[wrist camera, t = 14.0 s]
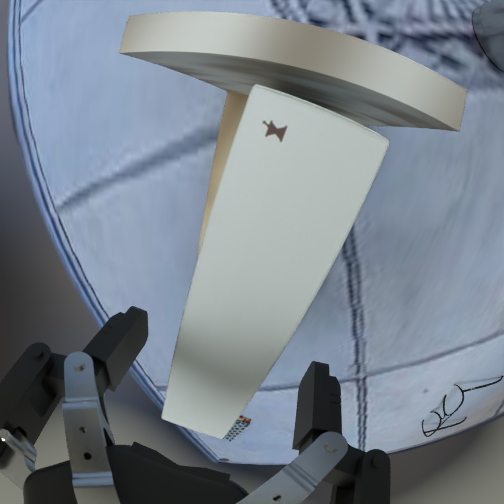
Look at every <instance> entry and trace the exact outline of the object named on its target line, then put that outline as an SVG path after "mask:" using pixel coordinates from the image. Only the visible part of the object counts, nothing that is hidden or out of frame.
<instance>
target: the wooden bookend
mask: <svg viewBox="0 0 504 504" xmlns="http://www.w3.org/2000/svg"><path fill="white" fill-rule="evenodd" d="M119 53H120V54H124V55H128V56H131V57H135V58H138V59H142V60H145V61H148V62H151V63H155V64H158V65H161V66H164V67H167V68H170V69H172V70H175V71H178V72H181V73H184V74H186V75H189V76H192V77H194V78H197V79H199V80H202V81H204V82H207V83H209V84H212V85H214V86H216V87H219V88H221V89H223V90H226V91H228V93H227V97H226V102H225V106H224V111H223V115H222V120H221V125H220V129H219V134H218V139H217V144H216V149H215V154H214V159H213V165H212V170H211V176H210V181H209V187H208V192H207V198H206V204H205V210H204V216H203V223H202V229H201V236H200V242H199V249H198V256H199V252H200V248H201V245H202V241H203V237H204V233H205V230H206V227H207V223H208V220H209V216H210V213H211V210H212V206H213V203H214V200H215V197H216V193H217V190H218V187H219V184H220V181H221V177H222V174H223V171H224V168H225V164H226V161H227V158H228V155H229V152H230V149H231V146H232V143H233V140H234V137H235V134H236V131H237V128H238V126H239V123H240V120H241V117H242V114H243V111H244V108H245V106H246V103H247V100H248V97H249V94H250V91H251V89H252V88H253V86H254V85H256V84H258V85H261V86H265V87H268V88H271V89H275V90H278V91H281V92H284V93H287V94H289V95H292V96H295V97H298V98H300V99H303V100H306V101H308V102H311V103H314V104H316V105H319V106H321V107H323V108H326V109H328V110H331V111H333V112H335V113H338V114H340V115H342V116H344V117H347V118H349V119H351V120H353V121H355V122H357V123H360V124H362V125H364V126H397V127H416V128H430V129H441V130H450V131H458V132H459V131H460V126H461V122H462V117H463V113H464V108H465V102H466V97H467V90H465V89H464V88H462V87H460V86H459V85H457V84H456V83H454V82H452V81H451V80H449V79H447V78H445V77H444V76H442V75H440V74H438V73H436V72H435V71H433V70H431V69H429V68H427V67H425V66H423V65H421V64H419V63H417V62H415V61H413V60H411V59H409V58H406V57H404V56H402V55H400V54H398V53H395V52H393V51H390V50H388V49H386V48H383V47H381V46H378V45H375V44H373V43H370V42H367V41H364V40H362V39H359V38H356V37H353V36H349V35H346V34H343V33H340V32H336V31H333V30H329V29H325V28H322V27H318V26H313V25H309V24H305V23H300V22H295V21H290V20H285V19H279V18H273V17H266V16H258V15H250V14H240V13H226V12H166V13H152V14H142V15H134V16H129V18H128V21H127V24H126V28H125V31H124V35H123V38H122V42H121V46H120V50H119ZM198 256H197V260H198Z"/></svg>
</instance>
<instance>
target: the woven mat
mask: <svg viewBox="0 0 504 504" xmlns="http://www.w3.org/2000/svg"><path fill="white" fill-rule="evenodd" d="M246 420H247V421H246ZM241 421H242V422H241ZM250 421H251V420H250V419H248V418H245V417H242V416H239V418H238V419H237V420H236V422H235V423H234V424H233V426H232V427H231V429H230V430H229V431H228V433H227V434H226V435H225V437H226V439H229V438H230V440H229V441H231V440H233V439H235V438H236V436H237V437H238V435H241V434H240V433H243V431H245V430H247V429H246V428H248V427H249V426H248V425H250V423H249V422H250ZM223 439H224V438H223Z"/></svg>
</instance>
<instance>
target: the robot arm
mask: <svg viewBox="0 0 504 504" xmlns="http://www.w3.org/2000/svg"><path fill="white" fill-rule="evenodd" d="M472 19H473V27H474V30H475V33H476V36H477V38H478V41H479V42H480V44H481V46H482V48H483V50H484V51H485V53H486V54H487V56H488V57H489V58H490V59H491V61H492V62H493V63H494V64H495V65H496V66H497V67H498V68H499V69H501V70H502V71H503V72H504V0H491V1H489V2H487V3H485V4H483V5H481V6H479V7H478V8H476V9H475V11H474V13H473V18H472ZM147 338H148V314H147V311H145V310H142V309H140V308H137V307H134V306H131V307H130V308H129V309H128V311H127V312H126V313H125V314H124V313H121V312H120V313H118V314H116V315H114V316H112V317H111V318H110V319H109V320H108V321H107V323H106V324H105V325H104V326H103V327H102V328H101V331H99V332H98V333H97V334H96V336H95V337H94V338H93V339H92V340H91V341H90V343H89V344H88V345H87V346H86V348H85V349H84V350H83V351H82V352H74V353H72V354H70V355H69V356H64V355H60V354H55V353H51V350H50V348H49V347H48V346H47V345H46V344H44V343H34V344H32V345H30V346H29V347H28V348H27V349H26V351H25V352H24V353H23V354H22V356H21V357H20V358H19V360H17V362H16V363H15V364H14V366H13V367H12V368H11V369H10V371H9V372H8V373H7V375H6V376H5V377H4V379H3V380H2V381H1V383H0V472H1V473H2V474H3V475H5V476H6V477H7V478H8V479H9V480H10V481H12V482H13V483H14V484H15V485H17V486H18V487H19V488H20V489H22V490H23V495H24V504H300V502H302V501H303V500H304V499H305V498H306V497H307V496H308V495H309V494H310V493H311V492H312V491H313V490H314V489H315V488H316V485H317V484H318V483H319V482H320V481H321V480H323V481H325V482H328V483H330V484H333V487H332V494H331V501H330V504H390V459H389V457H388V455H387V454H386V453H385V452H384V451H382V450H379V449H373V450H370V451H368V452H364V451H362V450H359V449H356V448H354V447H352V446H350V445H349V444H348V443H347V441H346V439H345V438H344V437H343V435H342V417H341V397H340V396H341V388H340V384H339V382H338V380H337V378H336V377H334V376H329V365H328V364H325V363H320V362H315V361H313V362H312V363H311V364H310V366H309V368H308V370H307V371H306V373H305V375H304V377H303V378H302V380H301V383H300V386H299V391H298V401H297V411H296V421H295V430H294V439H293V447H292V449H295V450H299V456H298V457H297V458H296V459H294V460H293V461H292V462H291V463H290V464H288V465H287V466H286V467H285V468H283V469H282V470H281V471H280V472H279V473H277V474H276V475H275V476H274V477H272V478H271V479H270V480H268V481H267V482H266V483H264V484H263V485H262V486H261V487H259V488H258V489H256V490H255V491H254V492H252V493H251V494H249V493H247V491H246V490H245V489H244V488H243V487H241V486H240V485H239V484H237V483H236V482H234V481H232V480H230V479H229V478H230V474H226V473H222V472H219V471H215V470H211V469H207V468H200V467H188V466H180V465H177V464H176V463H174V462H173V461H171V460H169V459H168V458H166V457H165V456H163V455H162V454H160V453H159V452H157V451H155V450H153V449H151V448H148V447H146V446H143V445H141V444H139V443H137V442H134V443H133V445H132V446H130V445H116V443H115V440H114V437H113V434H112V431H111V427H110V423H109V418H108V414H107V408H106V403H105V397H104V392H105V391H106V389H107V388H108V389H110V390H112V391H115V390H116V388H117V386H118V385H119V383H120V382H121V380H122V379H123V377H124V375H125V374H126V373H127V371H128V369H129V368H130V366H131V365H132V363H133V362H134V360H135V359H136V357H137V356H138V354H139V353H140V351H141V349H142V348H143V346H144V345H145V343H146V341H147ZM63 396H64V397H66V402H63V417H64V426H65V434H66V441H67V448H68V453H69V459H70V460H68V461H65V462H62V463H59V464H55V465H52V466H48V467H45V468H41V469H38V470H35V462H36V456H37V453H36V449H35V447H34V444H35V442H36V440H37V439H38V437H39V435H40V433H41V431H42V430H43V428H44V426H45V424H46V423H47V421H48V419H49V418H50V416H51V414H52V413H53V411H54V409H55V408H56V406H57V405H58V403H59V401H60V400H61V398H62V397H63Z"/></svg>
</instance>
